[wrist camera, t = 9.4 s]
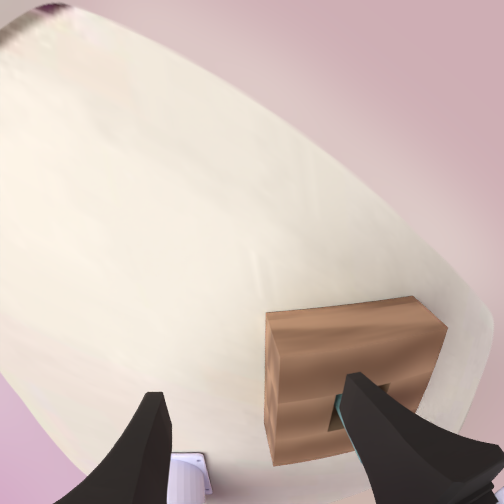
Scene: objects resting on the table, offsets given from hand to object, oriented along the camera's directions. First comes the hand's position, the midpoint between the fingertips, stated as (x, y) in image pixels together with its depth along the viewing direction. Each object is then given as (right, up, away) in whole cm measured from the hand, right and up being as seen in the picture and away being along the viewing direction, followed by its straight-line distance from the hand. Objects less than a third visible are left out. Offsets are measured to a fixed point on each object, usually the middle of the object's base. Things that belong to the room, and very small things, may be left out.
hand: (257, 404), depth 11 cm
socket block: (+7, -4, +13) cm, 15 cm away
